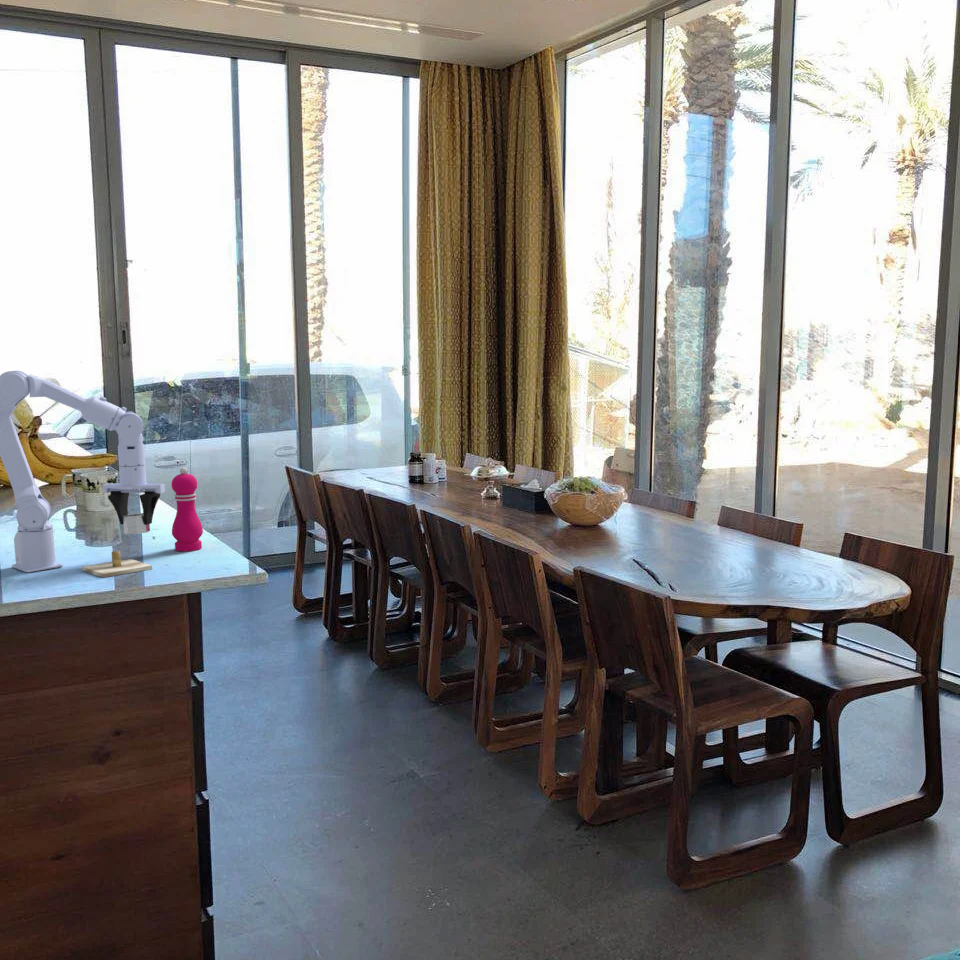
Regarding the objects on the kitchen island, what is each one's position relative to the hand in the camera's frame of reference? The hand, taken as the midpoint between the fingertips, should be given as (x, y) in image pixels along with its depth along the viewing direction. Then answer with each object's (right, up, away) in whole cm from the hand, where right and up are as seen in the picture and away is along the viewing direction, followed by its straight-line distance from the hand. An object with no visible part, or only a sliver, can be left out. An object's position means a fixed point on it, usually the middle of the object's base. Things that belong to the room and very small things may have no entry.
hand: (136, 523), depth 228 cm
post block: (-1, -10, -9) cm, 14 cm away
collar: (0, -2, 0) cm, 2 cm away
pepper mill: (+8, -7, +12) cm, 16 cm away
